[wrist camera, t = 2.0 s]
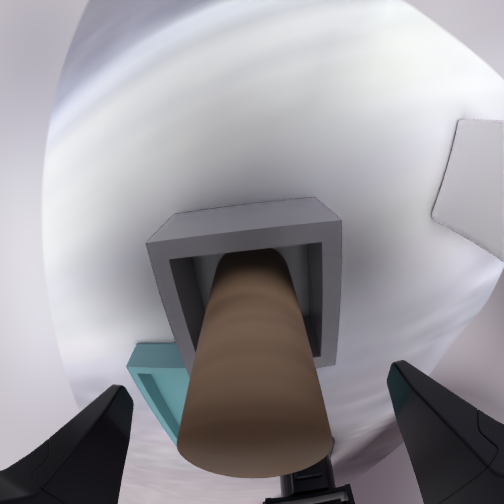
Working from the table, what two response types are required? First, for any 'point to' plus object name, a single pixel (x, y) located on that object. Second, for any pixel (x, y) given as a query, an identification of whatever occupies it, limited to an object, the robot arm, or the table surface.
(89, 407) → the robot arm
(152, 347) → the tray
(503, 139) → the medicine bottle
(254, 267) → the walnut dowel
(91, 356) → the table surface
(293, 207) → the grey square open box
